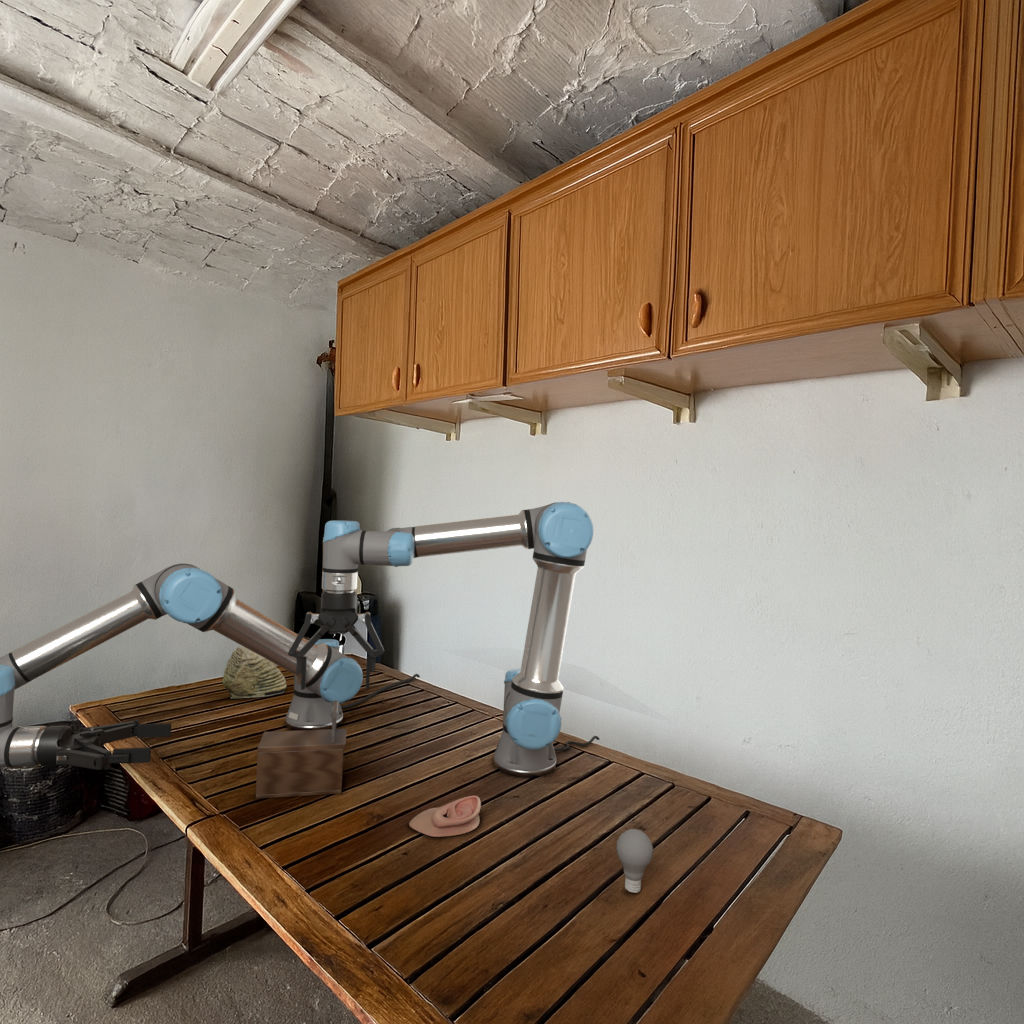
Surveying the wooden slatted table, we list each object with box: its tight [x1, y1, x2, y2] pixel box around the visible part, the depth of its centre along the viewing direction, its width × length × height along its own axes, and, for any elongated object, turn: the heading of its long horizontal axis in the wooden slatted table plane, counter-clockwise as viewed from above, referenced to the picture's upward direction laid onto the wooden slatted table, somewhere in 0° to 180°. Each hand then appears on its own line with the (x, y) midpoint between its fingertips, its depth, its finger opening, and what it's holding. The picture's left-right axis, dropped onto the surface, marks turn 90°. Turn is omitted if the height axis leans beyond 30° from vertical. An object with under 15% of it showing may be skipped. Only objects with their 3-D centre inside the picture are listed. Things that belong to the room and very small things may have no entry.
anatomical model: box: [408, 795, 482, 838], centre depth 125 cm, size 13×4×12 cm
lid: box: [257, 700, 347, 753], centre depth 138 cm, size 18×9×8 cm, turn 103°
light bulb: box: [615, 828, 654, 894], centre depth 106 cm, size 6×6×10 cm
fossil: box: [222, 646, 288, 699], centre depth 198 cm, size 9×18×15 cm, turn 132°
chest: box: [255, 749, 345, 800], centre depth 138 cm, size 17×9×10 cm, turn 103°
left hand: (161, 741), depth 131 cm, fingers open, 13 cm apart
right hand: (335, 687), depth 139 cm, fingers open, 13 cm apart
